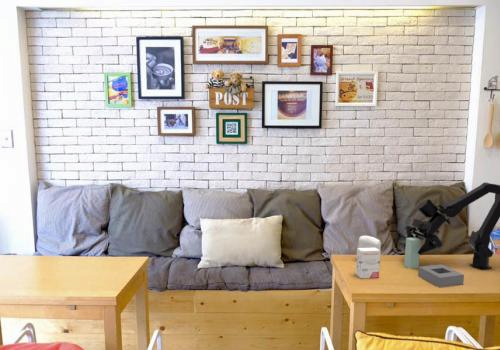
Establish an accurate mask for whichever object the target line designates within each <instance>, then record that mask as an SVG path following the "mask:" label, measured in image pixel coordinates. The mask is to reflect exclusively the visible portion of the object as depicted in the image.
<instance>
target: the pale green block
mask: <svg viewBox="0 0 500 350" xmlns="http://www.w3.org/2000/svg"><path fill="white" fill-rule="evenodd" d="M405 241H406V247H404V248H405V251H404V262H403V263H404V264H403V266H404V267H405V268H407V269H416V268H417V269H419V267H420V256H421V254H418V251H419V249H420V248H421V243H422V240H421V238H420V237H418V238H416V237H412V238H407V237H406V238H405Z"/></svg>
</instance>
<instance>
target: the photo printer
mask: <svg viewBox="0 0 500 350" xmlns="http://www.w3.org/2000/svg"><path fill="white" fill-rule="evenodd" d="M381 247H382V242H381V240H380V239H378V238H376V237H373V236H371V235H361V236H359V238H358V245H357V248H377V249H378V250H380V251H381V249H382V248H381Z"/></svg>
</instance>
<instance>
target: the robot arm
mask: <svg viewBox="0 0 500 350" xmlns="http://www.w3.org/2000/svg"><path fill="white" fill-rule="evenodd" d="M488 194H494V202H493V204H492V205H491V207H490V209H489V210H488V213H487V215H486V216H485V218H484V219H483V222H482V223H481V225H480V227H479V229H478V230H476V231H474V230H472V232H471V234H470V235H469V236H468V245H469V247H471V249H472V251H473V257H472V263H469V266H471V267H473V268H477V269H479V270H490V269H492V268H493V267H492V266H490V258H491V257H493V255H494V251H492V250H491V249H490V248H489V245H490V242H491V234H492V232H493V230H494V229H495V227H496V226H497V224H498V222H499V220H500V184H495V183H490V182H488V181H487V182H486V181H485V182H483V183H481V184H480V185H479V186H477V187H475V188H474V189H472V190H470V191H468V192H466V193H465V194H463V195H462V196H460V197H458V198H455V199H451V200H448V201H445V202H443V203H442V204H438V205H437V204H436V205H435V204H434V203H433V201H431V199H430V198H427V199H425V200H422V201H420V202H419V203H418V204H417V206H416V210H418V212H420V214H421V215H422V216H424V217H425V218H429V219H428V220H423V221H422V220H419V219H416V218H414V219H413V221H412V223H411V225H407V226H406V227H405V228H404V230H405V232H406V238H412V237H416V238H422V239H424V243H423V244H422V245H421V246H420V249H419V251H418V254H420V255H422V254H423V253H427V252H429V251H432V250H437V249H441V247H443V243H444V242H443V241H442V240H441V239H440V237H439V236H438V235H435V234H439V233H440V231H439V230H440V229H441V227H443V225H444V224H445V225H451V221H450V218H455V217H457V216H458V215H459V214H460V213H462V212H463V209H464V208H466V207H467V206H469V205H470V204H473V203H474V202H475V201H477V200H479V199H480V198H483V197H484V196H486V195H488ZM403 247H404V248H405V247H406V240H405V242H404V244H403Z"/></svg>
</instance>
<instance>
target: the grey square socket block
mask: <svg viewBox="0 0 500 350" xmlns="http://www.w3.org/2000/svg"><path fill="white" fill-rule="evenodd" d="M417 276H418V277H419V278H421V279H423V280H425V281H427V282H429V283H430V284H432V285H434V286H436V287H437V288H444V287H452V286H461V285H464V280H465V274H464V273H461V272H460V271H457V270H455V269H453V268H450V267H449V266H446V265H444V264H442V263H441V264H435V265H434V264H431V265H424V266H419V268H418V273H417Z"/></svg>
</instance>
